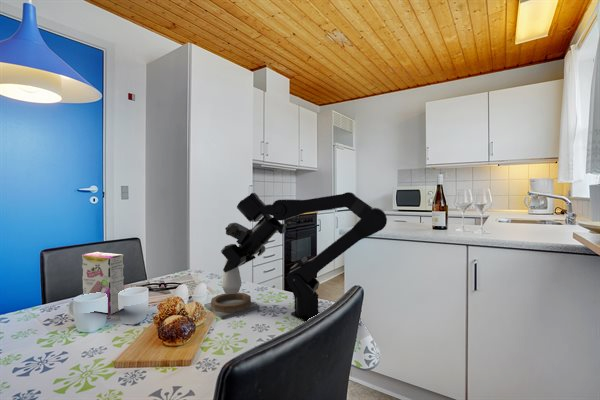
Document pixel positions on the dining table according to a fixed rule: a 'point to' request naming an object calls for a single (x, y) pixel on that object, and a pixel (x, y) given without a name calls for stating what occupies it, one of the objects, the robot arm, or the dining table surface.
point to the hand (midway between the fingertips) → (227, 269)
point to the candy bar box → (104, 276)
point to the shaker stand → (231, 305)
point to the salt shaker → (231, 280)
